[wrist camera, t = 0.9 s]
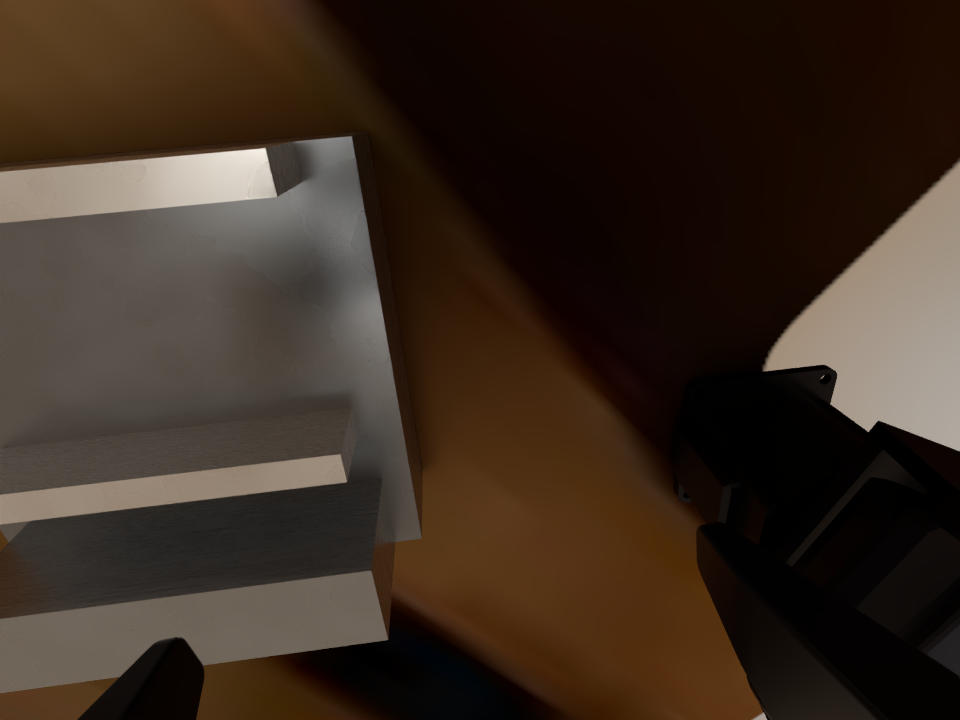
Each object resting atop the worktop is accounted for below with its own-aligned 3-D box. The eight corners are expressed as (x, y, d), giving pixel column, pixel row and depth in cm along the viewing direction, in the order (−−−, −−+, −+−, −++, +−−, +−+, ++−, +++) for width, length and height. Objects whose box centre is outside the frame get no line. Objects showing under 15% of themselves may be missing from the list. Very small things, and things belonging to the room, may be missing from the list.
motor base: (367, 130, 17) (323, 146, 10) (422, 471, 23) (420, 635, 16) (-81, 170, 16) (-487, 219, 9) (101, 510, 22) (-53, 700, 15)
